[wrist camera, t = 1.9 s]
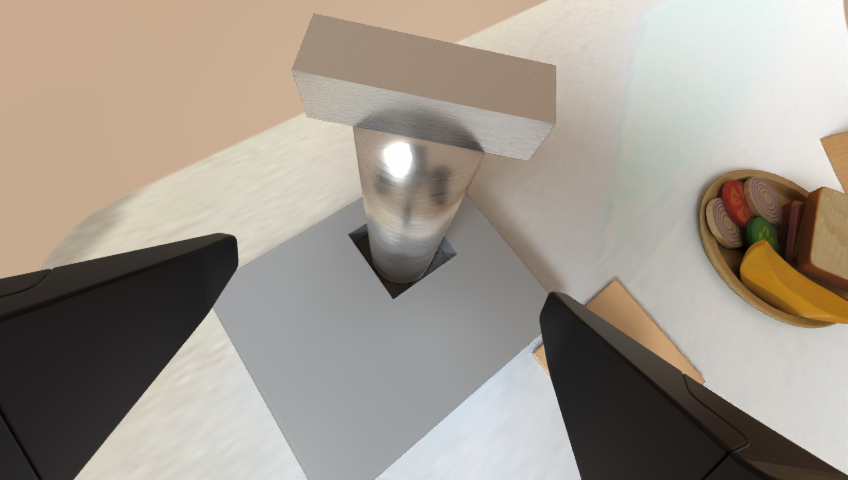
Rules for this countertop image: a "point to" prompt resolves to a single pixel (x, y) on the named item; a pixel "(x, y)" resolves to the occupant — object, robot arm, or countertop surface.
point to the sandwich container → (838, 156)
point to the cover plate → (375, 338)
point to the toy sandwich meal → (779, 246)
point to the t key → (419, 125)
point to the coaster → (632, 328)
